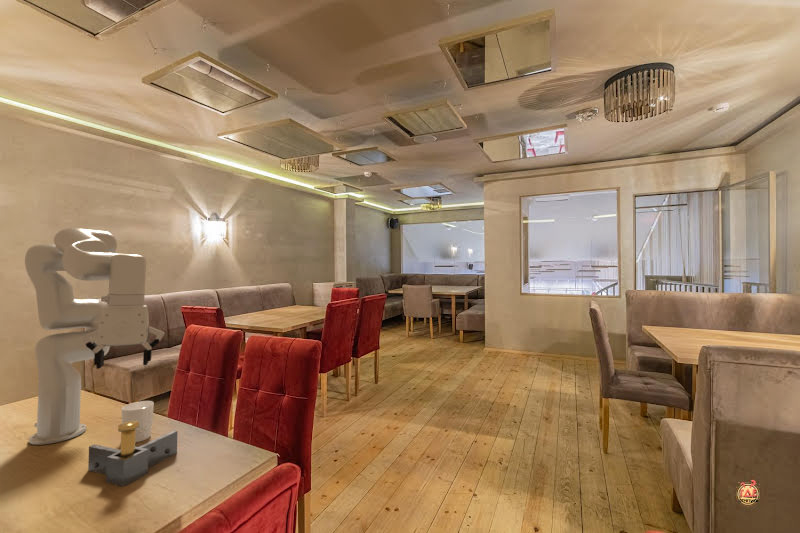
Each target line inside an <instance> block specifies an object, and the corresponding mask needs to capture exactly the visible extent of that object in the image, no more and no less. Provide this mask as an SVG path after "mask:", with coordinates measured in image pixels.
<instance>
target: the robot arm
mask: <svg viewBox="0 0 800 533" xmlns="http://www.w3.org/2000/svg"><path fill="white" fill-rule="evenodd" d="M117 244H118V243H117V239H116V238H115V236H114V234H112V233H110V232H109V231H106V230H97V229H90V228H89V229H88V228H80V227H79V228H77V227H69V228H64V229H61V230H59V231H58V232H56V234H54V238H53V243H52V244H51V243H45V244H44V243H42V244H37V245H33V246H30V247H29V248H28V249H27V251H26V252H25V254H24V255H25V257H24V266H25V271H26V274H27V275H28V277H29V280H30V281H31V284H32V285H33V286H34V290H35V294H36V295H35V296H36V304H37V305H36V306H37V314H38V320H39V324H40V326H41V328H42V329H44V330H47V331H62V330H63V331H64V330H72V329H74V330H75V329H81V328H82V329H83V328H84V329H85V330H81V331H70V332H62V333H61V332H60V333H55V334H50V335H46V336H43V337H42V338H40V339H39V340H38V341H37V342H36V344H35V346H34V347H35V348H34V353H35V358H36V364H37V370H38V375H37V376H38V386H37V387H38V388H37V389H38V390H37V417H36V418H37V419H36V423H35V424H34V425H33V426H34V428H36V433H34V434H32V435H31V436H30V437H29V439H28V442H29V444H30V445H34V446H35V445H37V446H41V445H49V444H54V443H60V442H65V441H66V440H71V439H72V438H75V437H78V436H80V435H81V434H83V433H85V431H87V425H86V424H84V423H80V422H81V400H82V399H81V396H82V394H81V393H82V374H81V372H80V371H79V370H77V369H76V368H75V367H74V366H73V365H72V364H73V363H76V362H81V361H83V362H84V361H88V360H94V361H93V365H94V366H96V367H95V368H96V370H98V369H102V367H103V366H104V364H105V361H104V360H105V356H106V355H107V354H108V353H109V351H110V348H111V347H112V346H113V347H115V346H130V345H142V346H143V347H144V351H143V360H142V364H143V366H147V365H148V364H149V362H151V360H152V352H153V351H152V350H153V348H154V347H155V346H157V345H158V344H159V343H160V342H161V340H162V338H163V337H164V335H165V331H162V330H160V329H157V328H155V327H154V326H153V327H152V326H150V318H149V317H150V316H149V308H148V305H146V304H145V295H146V294H145V292H146V291H145V290H146V276H147V275H146V274H147V273H146V272H147V259H146V257H145V256H143V255H140V254H129V253H118V252H116V250H117V247H118V245H117ZM115 252H116V253H115ZM59 272H66V273H67V274H68V275H69V276H71V277H72V278H74V279H75V280H80V281H85V282H87V281H91V282H92V281H108V294H107V295H104V296H101V297H100V300H98V299H94V298H82V299H81V298H80V299H79V298H78V299H77V298H76V297H75V295H74V287H73V285H72V283H71V282H70V281H69V280H68V279H67V278H66V277H65V276H63V275H61V273H59ZM102 302H104V303H106V306H105V305H104V304H103V303H102ZM150 334H153V335H155V336H156V337H155V339H154V340H152V341H150V339H149V336H150Z"/></svg>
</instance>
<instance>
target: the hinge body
mask: <svg viewBox="0 0 800 533" xmlns="http://www.w3.org/2000/svg"><path fill="white" fill-rule="evenodd" d="M120 451H121V449H118V448H113V447H109V446H104V445H99V444H95V443H94V444H93V445H89V446H88V468H87V469H88V471H89V472H94V473H98V474H101V475H105V483H107V484H111V485H114V486H119V487H125V486H127V485H129V484H132V483H133V482H134V481H136V480H139V479H140V478H143V476H146V475H148V474H149V472H148V471H149V468H151V467H153V466H155V465H156V464H159V463H161V462H162V461H164V460H166V459H168V458H170V457H172V456H174V455H176V454H177V453H178V430H172V431H171V432H168V433H166V434H164V435H162V436H159V437H157V438H155V439H152V440H151V441H148V442H147V443H144V444H142V445H139V446H135V454H133V455H131V456H129V457H127V458H121V457H120Z"/></svg>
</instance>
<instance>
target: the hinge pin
mask: <svg viewBox="0 0 800 533" xmlns="http://www.w3.org/2000/svg"><path fill="white" fill-rule="evenodd" d="M138 427H139V422H138V421H129V422H125V423H122V422H121V423H120V424H119V425H118V426H117V431H118V432H120V450H121V451H120V457H121V458H127V457H129V456H131V455H133V454H135V447H136V443H135V433H136V428H138Z"/></svg>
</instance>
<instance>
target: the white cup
mask: <svg viewBox="0 0 800 533" xmlns="http://www.w3.org/2000/svg"><path fill="white" fill-rule="evenodd" d="M154 406H155V403H154V401H153V400H142V401H141V400H140V401H135V402H131V403H128V404H125V405H124V406H122V407H121V424H122V423H125V422H129V421H138V422H139V427H138V428H136V433H135V444H136V443H139V442H142V441H145V440H148V439H149V438H150V437H151V435H152V426H153V418H154V408H155V407H154Z"/></svg>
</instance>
